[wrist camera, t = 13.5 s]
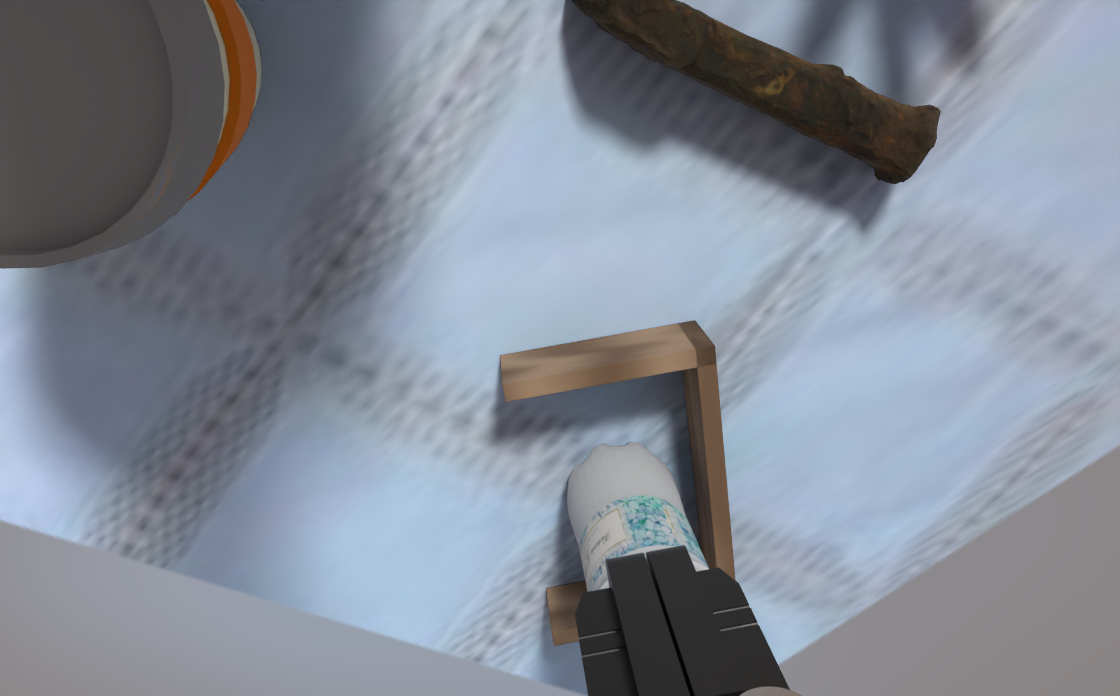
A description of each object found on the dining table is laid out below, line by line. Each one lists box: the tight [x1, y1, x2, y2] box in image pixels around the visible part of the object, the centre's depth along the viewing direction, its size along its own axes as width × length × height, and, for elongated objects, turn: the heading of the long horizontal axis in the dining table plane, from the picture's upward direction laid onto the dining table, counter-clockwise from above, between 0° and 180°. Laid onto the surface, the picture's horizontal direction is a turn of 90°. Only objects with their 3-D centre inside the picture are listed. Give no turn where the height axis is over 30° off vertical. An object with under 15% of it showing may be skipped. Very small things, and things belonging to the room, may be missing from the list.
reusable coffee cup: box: [0, 0, 262, 268], centre depth 30 cm, size 13×13×15 cm
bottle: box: [567, 442, 709, 592], centre depth 38 cm, size 7×7×20 cm
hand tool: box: [572, 0, 941, 184], centre depth 38 cm, size 19×4×5 cm, turn 65°
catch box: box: [500, 321, 735, 646], centre depth 45 cm, size 11×17×4 cm, turn 9°
